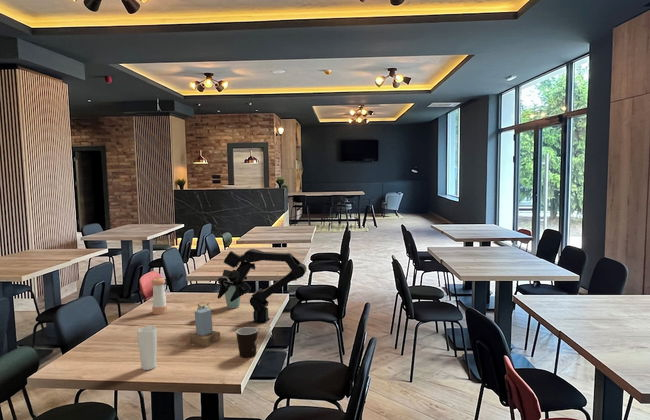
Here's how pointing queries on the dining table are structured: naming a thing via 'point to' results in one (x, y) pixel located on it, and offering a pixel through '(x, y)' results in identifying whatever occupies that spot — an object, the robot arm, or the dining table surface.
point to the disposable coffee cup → (228, 297)
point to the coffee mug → (247, 341)
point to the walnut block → (204, 339)
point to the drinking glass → (147, 346)
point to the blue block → (203, 322)
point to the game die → (203, 307)
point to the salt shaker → (159, 296)
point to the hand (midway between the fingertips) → (224, 299)
